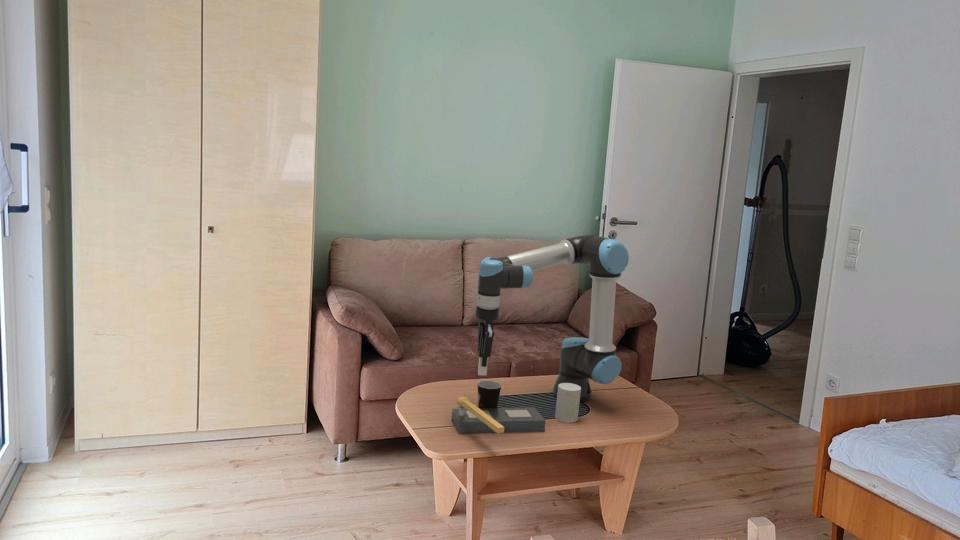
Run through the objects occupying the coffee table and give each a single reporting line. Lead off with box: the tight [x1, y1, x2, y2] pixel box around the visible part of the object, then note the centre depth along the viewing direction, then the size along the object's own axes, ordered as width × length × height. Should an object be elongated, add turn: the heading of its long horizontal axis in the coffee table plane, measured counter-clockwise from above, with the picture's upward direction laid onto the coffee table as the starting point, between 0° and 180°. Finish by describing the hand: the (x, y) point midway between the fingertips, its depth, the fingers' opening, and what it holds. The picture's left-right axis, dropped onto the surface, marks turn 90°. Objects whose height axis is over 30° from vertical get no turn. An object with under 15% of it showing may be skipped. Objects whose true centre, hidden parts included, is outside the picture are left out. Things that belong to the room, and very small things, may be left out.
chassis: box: [450, 405, 546, 435], centre depth 250 cm, size 30×12×8 cm, turn 104°
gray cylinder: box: [554, 383, 581, 424], centre depth 261 cm, size 8×8×12 cm
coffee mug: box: [477, 380, 502, 408], centre depth 264 cm, size 12×9×10 cm
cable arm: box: [456, 396, 505, 434], centre depth 236 cm, size 27×4×2 cm, turn 29°
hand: (482, 374), depth 246 cm, fingers closed
